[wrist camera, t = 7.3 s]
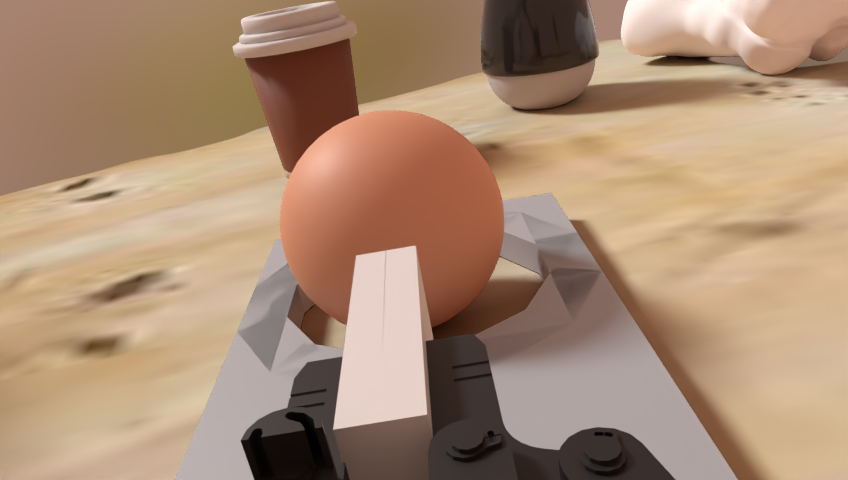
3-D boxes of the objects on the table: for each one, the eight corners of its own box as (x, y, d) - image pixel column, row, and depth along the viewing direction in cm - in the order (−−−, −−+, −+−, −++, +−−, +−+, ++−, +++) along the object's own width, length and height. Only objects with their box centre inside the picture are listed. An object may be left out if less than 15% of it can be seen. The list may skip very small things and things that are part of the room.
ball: (199, 164, 24) (272, 366, 28) (425, 161, 20) (472, 397, 24) (332, 88, 31) (374, 258, 35) (519, 74, 27) (543, 268, 31)
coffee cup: (304, 195, 47) (259, 20, 42) (249, 177, 54) (206, 24, 49) (405, 156, 52) (375, -6, 47) (343, 144, 59) (311, 1, 54)
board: (900, 800, 11) (911, 746, 11) (42, 920, 12) (8, 875, 11) (554, 218, 36) (551, 192, 35) (282, 264, 37) (275, 239, 36)
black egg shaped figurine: (471, 121, 58) (444, -67, 52) (506, 92, 67) (486, -73, 61) (589, 115, 54) (574, -92, 48) (610, 84, 62) (600, -95, 56)
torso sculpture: (599, 88, 68) (823, 95, 46) (587, -14, 65) (821, -59, 43) (734, 50, 74) (992, 40, 51) (729, -45, 71) (1002, -100, 48)
